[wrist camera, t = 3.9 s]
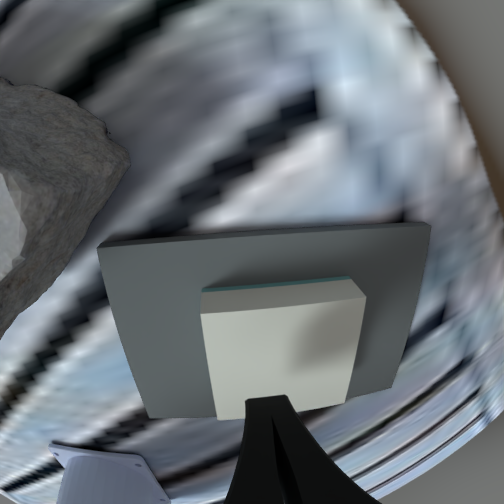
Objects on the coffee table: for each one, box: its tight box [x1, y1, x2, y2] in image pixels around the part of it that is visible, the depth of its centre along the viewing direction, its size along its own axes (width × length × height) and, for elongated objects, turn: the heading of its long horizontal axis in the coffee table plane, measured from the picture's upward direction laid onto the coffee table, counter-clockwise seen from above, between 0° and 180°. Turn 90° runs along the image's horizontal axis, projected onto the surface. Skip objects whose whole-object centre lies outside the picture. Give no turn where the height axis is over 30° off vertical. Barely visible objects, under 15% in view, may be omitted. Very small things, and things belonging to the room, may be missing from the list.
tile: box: [200, 276, 366, 420], centre depth 13 cm, size 6×2×6 cm
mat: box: [97, 222, 431, 418], centre depth 14 cm, size 10×14×1 cm
